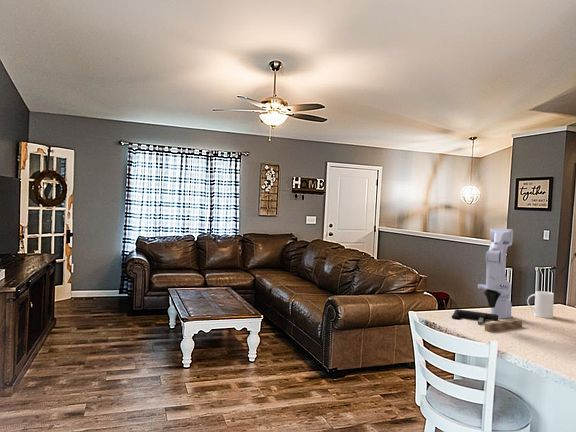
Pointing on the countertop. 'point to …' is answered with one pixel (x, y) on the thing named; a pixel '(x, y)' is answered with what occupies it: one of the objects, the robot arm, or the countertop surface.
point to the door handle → (474, 315)
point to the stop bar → (503, 325)
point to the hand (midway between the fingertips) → (491, 307)
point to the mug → (543, 304)
